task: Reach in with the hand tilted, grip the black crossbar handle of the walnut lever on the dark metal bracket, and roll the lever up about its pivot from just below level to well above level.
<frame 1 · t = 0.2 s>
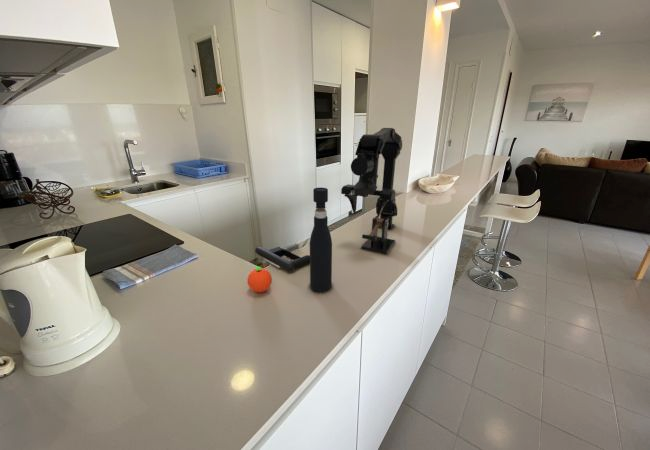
hand: (366, 214, 102), 14 cm above the worktop, tool pointing down, fingers open, 9 cm apart
clementine: (260, 289, 82), on the worktop
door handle: (286, 258, 101), on the worktop
black bottle: (320, 286, 84), on the worktop
bracket: (378, 245, 110), on the worktop
lever: (375, 229, 102), point 9 cm above the worktop, hinge at -8.0°
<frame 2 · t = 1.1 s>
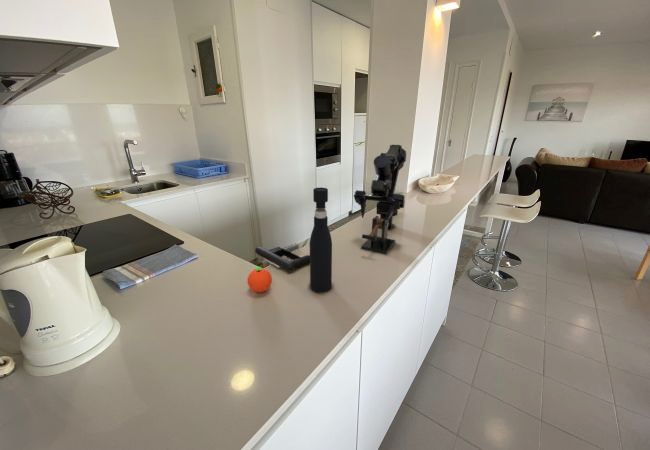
hand: (374, 218, 102), 13 cm above the worktop, tool tilted 45°, fingers open, 9 cm apart
nothing on the worktop moved.
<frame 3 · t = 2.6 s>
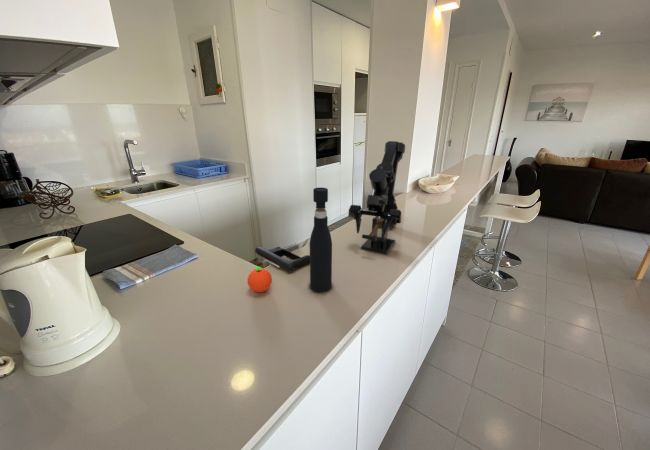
hand: (370, 234, 98), 9 cm above the worktop, tool tilted 45°, fingers open, 9 cm apart
nothing on the worktop moved.
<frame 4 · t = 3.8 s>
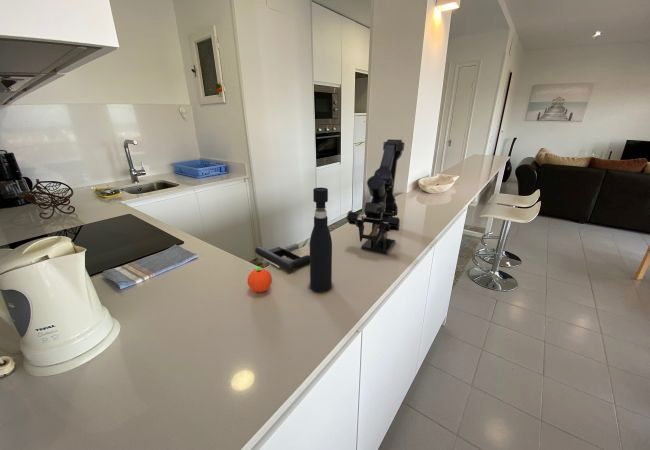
hand: (368, 242, 97), 7 cm above the worktop, tool tilted 45°, fingers closed on lever, 5 cm apart
lever: (375, 229, 102), point 9 cm above the worktop, hinge at -8.0°, touching gripper
everything else where it was.
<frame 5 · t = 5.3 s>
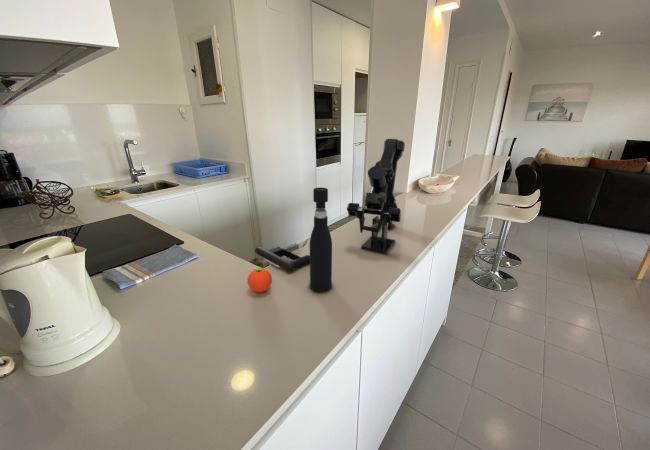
hand: (368, 233, 96), 10 cm above the worktop, tool tilted 45°, fingers closed on lever, 5 cm apart
lever: (375, 225, 102), point 11 cm above the worktop, hinge at 7.8°, touching gripper
everything else where it was.
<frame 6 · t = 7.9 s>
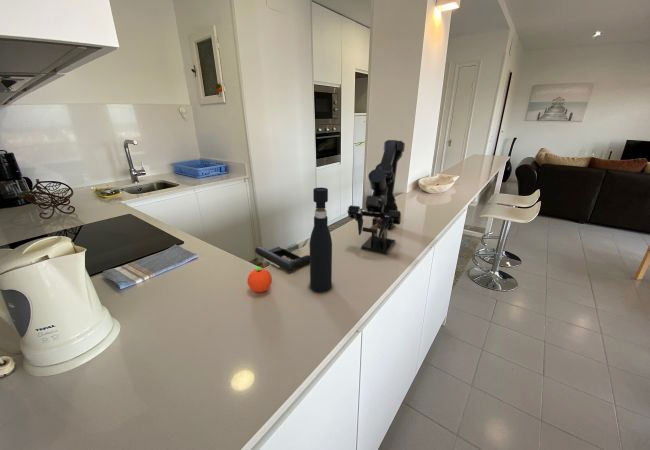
hand: (369, 236, 97), 9 cm above the worktop, tool tilted 45°, fingers open, 7 cm apart
lever: (375, 226, 102), point 10 cm above the worktop, hinge at 5.1°
everything else where it was.
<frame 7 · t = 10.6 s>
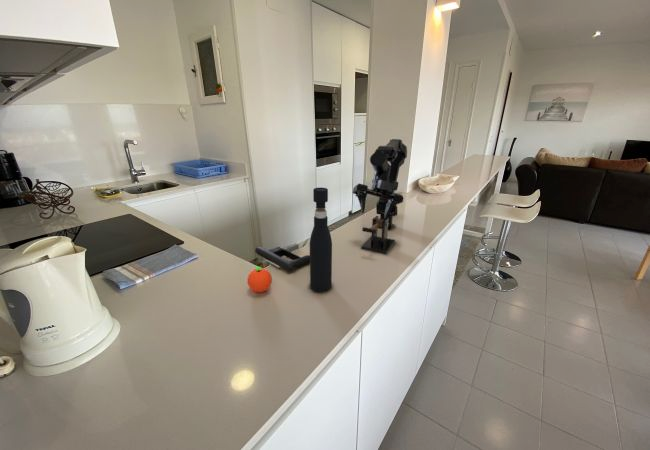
hand: (374, 216, 104), 13 cm above the worktop, tool tilted 30°, fingers open, 9 cm apart
nothing on the worktop moved.
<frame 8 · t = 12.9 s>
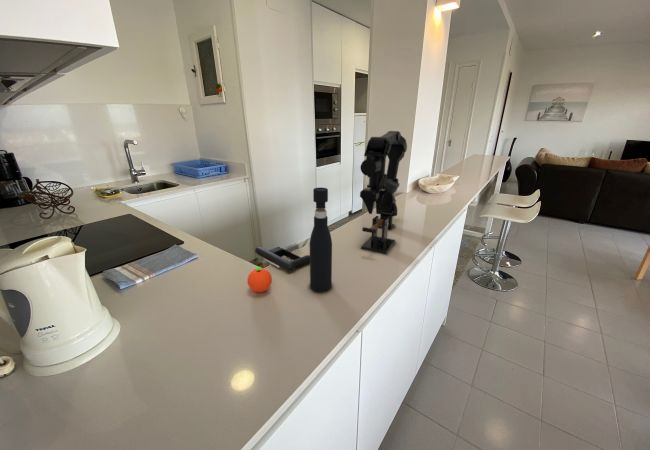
hand: (374, 210, 111), 13 cm above the worktop, tool pointing down, fingers open, 9 cm apart
nothing on the worktop moved.
at the end: lever reached +20° during the clip, +5° at the end; lever at +5° (first picture: -8°) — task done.
